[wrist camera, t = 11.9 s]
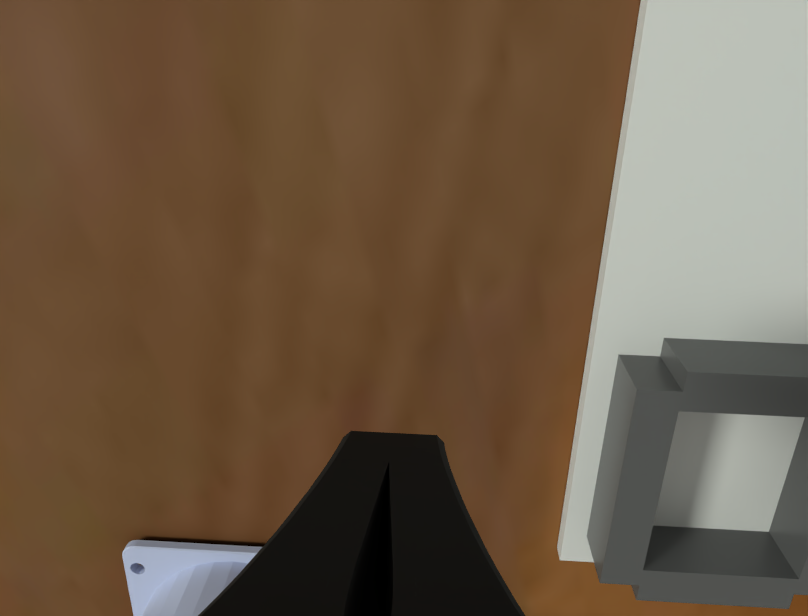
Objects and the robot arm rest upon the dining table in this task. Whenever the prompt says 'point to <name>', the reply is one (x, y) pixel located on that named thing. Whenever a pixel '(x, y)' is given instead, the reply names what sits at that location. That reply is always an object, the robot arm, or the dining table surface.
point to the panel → (702, 317)
